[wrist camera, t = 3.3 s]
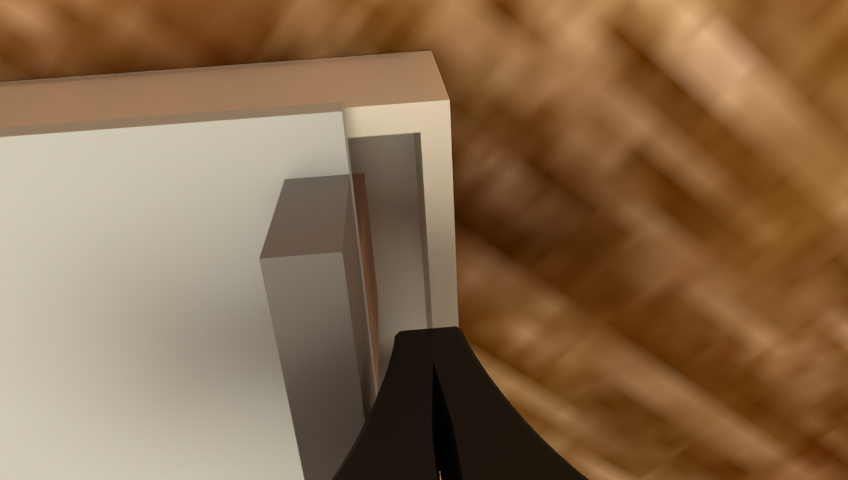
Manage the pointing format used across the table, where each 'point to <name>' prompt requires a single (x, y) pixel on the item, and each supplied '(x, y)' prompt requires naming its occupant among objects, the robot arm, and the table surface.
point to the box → (367, 139)
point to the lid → (182, 298)
